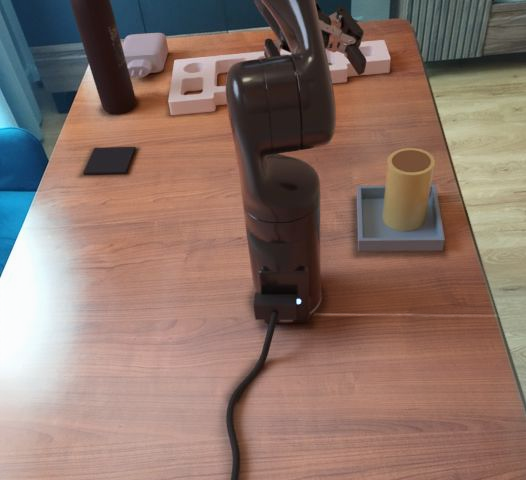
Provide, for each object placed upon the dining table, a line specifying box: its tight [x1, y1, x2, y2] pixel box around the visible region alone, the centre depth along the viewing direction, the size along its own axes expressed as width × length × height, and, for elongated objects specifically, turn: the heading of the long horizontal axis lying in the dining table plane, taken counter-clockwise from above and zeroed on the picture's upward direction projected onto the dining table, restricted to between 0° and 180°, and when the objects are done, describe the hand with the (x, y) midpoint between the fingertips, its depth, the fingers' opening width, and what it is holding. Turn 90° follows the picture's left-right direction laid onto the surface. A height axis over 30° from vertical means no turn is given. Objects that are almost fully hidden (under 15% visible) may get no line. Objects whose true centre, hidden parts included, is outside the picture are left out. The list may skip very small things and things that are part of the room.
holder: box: [167, 39, 391, 116], centre depth 120 cm, size 45×18×3 cm, turn 91°
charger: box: [122, 32, 169, 78], centre depth 128 cm, size 5×9×15 cm
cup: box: [382, 147, 436, 231], centre depth 87 cm, size 7×7×10 cm
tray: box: [356, 183, 446, 252], centre depth 89 cm, size 13×12×3 cm
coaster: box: [82, 146, 137, 176], centre depth 108 cm, size 8×8×1 cm
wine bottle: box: [69, 0, 137, 115], centre depth 109 cm, size 7×7×30 cm
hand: (338, 82), depth 86 cm, fingers open, 8 cm apart
